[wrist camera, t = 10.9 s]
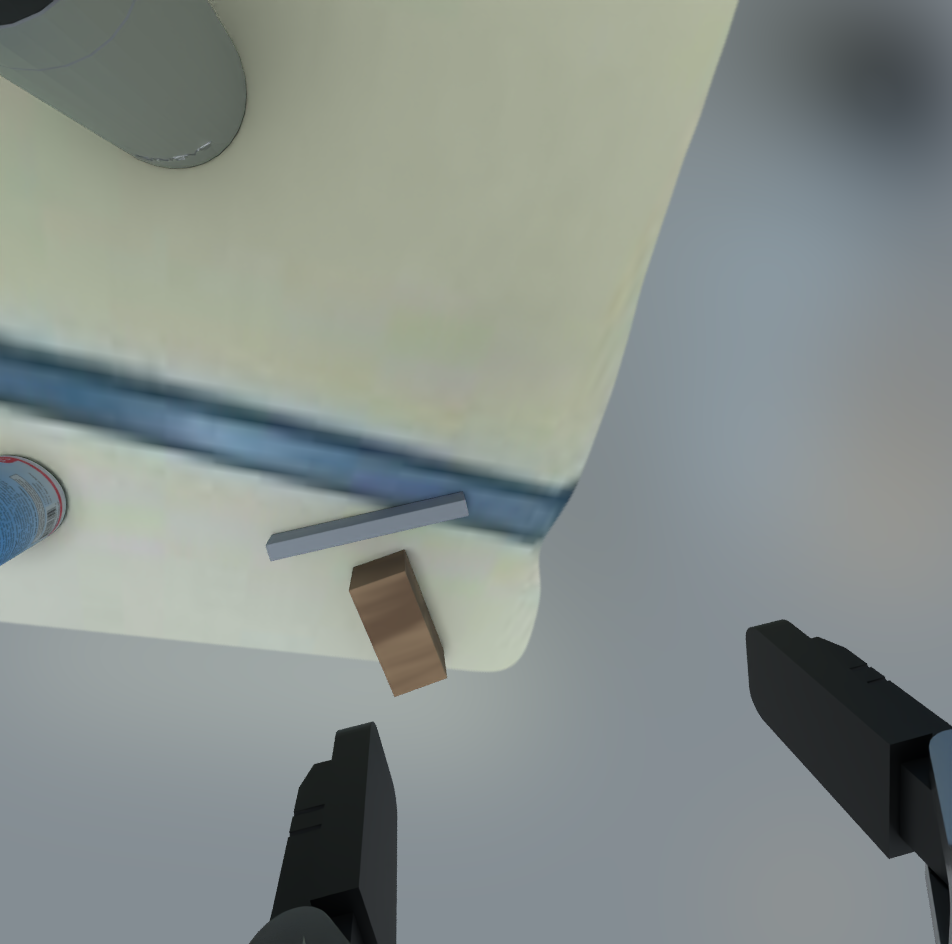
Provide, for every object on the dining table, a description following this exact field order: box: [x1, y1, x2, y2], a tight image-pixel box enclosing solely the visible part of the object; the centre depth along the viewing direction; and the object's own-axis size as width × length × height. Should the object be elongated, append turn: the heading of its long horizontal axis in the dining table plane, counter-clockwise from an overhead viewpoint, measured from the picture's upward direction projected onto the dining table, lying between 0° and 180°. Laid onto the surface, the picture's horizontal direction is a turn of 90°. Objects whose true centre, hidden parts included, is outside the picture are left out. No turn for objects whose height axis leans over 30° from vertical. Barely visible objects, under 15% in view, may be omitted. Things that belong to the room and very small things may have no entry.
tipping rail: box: [266, 492, 469, 561], centre depth 41 cm, size 1×14×2 cm, turn 101°
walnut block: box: [349, 550, 447, 697], centre depth 42 cm, size 4×4×9 cm
